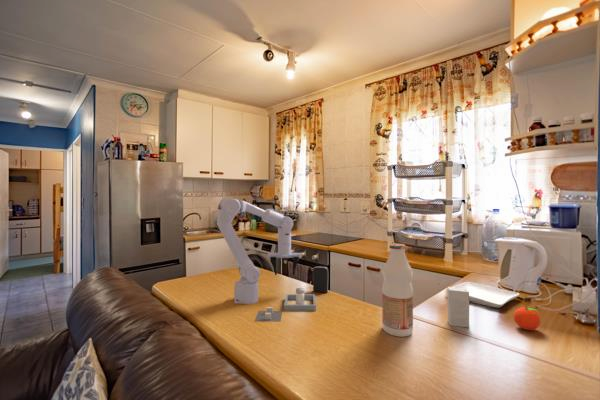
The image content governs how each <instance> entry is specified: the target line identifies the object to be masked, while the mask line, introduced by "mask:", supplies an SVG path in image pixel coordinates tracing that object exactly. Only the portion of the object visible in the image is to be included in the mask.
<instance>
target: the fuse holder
mask: <svg viewBox="0 0 600 400" xmlns="http://www.w3.org/2000/svg"><path fill="white" fill-rule="evenodd" d="M282 315H283V310H274V307H273V306H266V310H258V311H257V314H256V316H255V319H254V322H281V320H282Z"/></svg>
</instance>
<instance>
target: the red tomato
mask: <svg viewBox="0 0 600 400" xmlns="http://www.w3.org/2000/svg"><path fill="white" fill-rule="evenodd" d="M539 311H540V310H539ZM539 311H538V310H537V309H534V308H531V307H524V306H523V307H519V308H517V309H516V310H515V311H514V313H513V320H514V321H515V323H516V325H517V326H518V327H520V328H521V329H524V330H527V331H534V330H537V329H538V328H539V327H540V325H541V317H540V316H539V314H538V313H540V312H539ZM540 314H541V316H542V317H543V314H542V313H540Z"/></svg>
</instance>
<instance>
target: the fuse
mask: <svg viewBox="0 0 600 400" xmlns="http://www.w3.org/2000/svg"><path fill="white" fill-rule="evenodd" d="M295 294H296V300H295V305H305V300H304V294H305V288H303V287H297V288H296V289H295Z"/></svg>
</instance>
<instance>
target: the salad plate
mask: <svg viewBox="0 0 600 400" xmlns="http://www.w3.org/2000/svg"><path fill="white" fill-rule="evenodd" d="M452 287H456V288H466V289H467V290H468V292H469V302H471V303H474V304H477V305H481V306H482V305H483V306H484V307H485V306H486V307H490V308H497V309H498V308H501V307H503V306H504V305H505V304H507V303H508V302H510V301H513V300H514V299H516V298H518V297H519V296H520V293H519V292H515V291H510V290H507V289H504V288H503V289H502V288H498V287H494V286H490V285H486V284H481V283H476V282H472V281H465V282H462V283H458V284H456V285H453V286H452ZM445 291H446V292H447V288H446V289H445Z"/></svg>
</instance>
